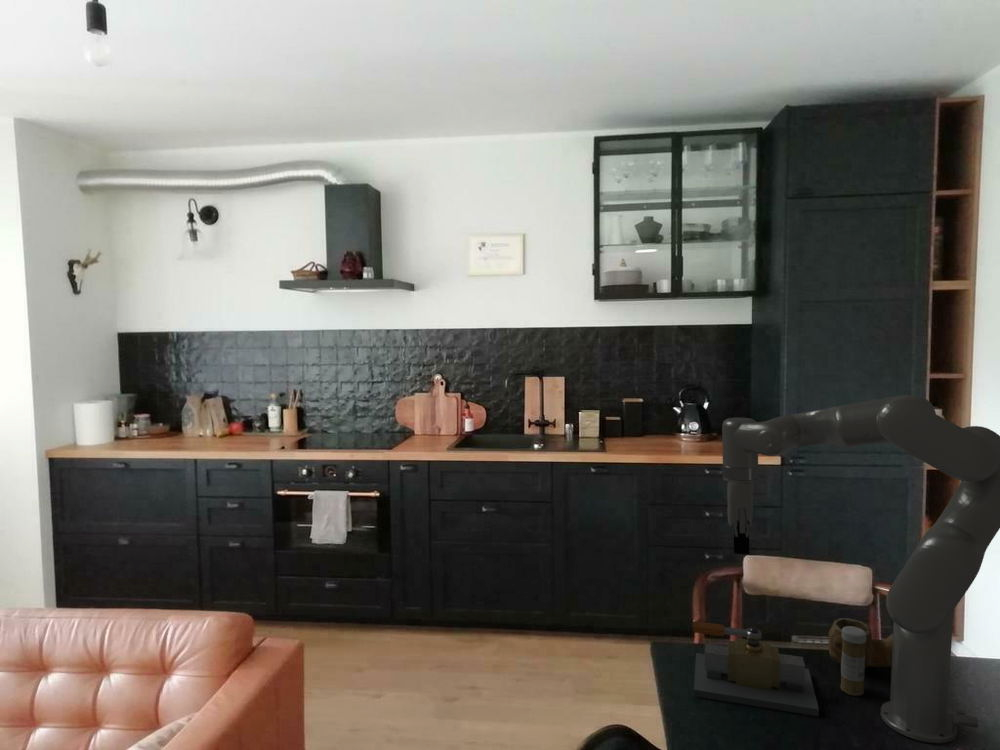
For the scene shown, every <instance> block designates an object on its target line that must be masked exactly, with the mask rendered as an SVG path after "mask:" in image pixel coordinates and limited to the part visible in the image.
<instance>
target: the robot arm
mask: <svg viewBox="0 0 1000 750" xmlns="http://www.w3.org/2000/svg"><path fill="white" fill-rule="evenodd" d="M721 426H722V428H721V430H722V431H721V433H722V435H721V436H722V439H721V440H722V479H723V481H726V482H727V486H726V487H727V492H726V493H727V498H726V500H727V502H726V503H727V505H726V506H727V507H726V508H727V522H728V525H729V526H730V527H732V526H733V527H734V529H733V531H734V534H733V552H734V554H736V555H750V536H749V528H751V527H752V526H753V513H754V511H753V510H754V485H753V484H754V483H757V482H758V481H759V455H761V456H762V455H763V456H766V457H776V456H780V455H782V454H785V453H786V452H788V451H790V450H792V449H796V448H802V447H803V448H805V447H810V446H816V445H817V446H819V445H837V446H840V447H844V448H853V447H861V446H867V445H875V444H883V443H891V444H893V445H895V446H896V447H897V448H898V449H900V450H902V451H904V452H906V453H907V454H909V455H911V456H913V457H914V458H916V459H918V460H920V461H922V462H923V463H925V464H927V465H929V466H930V467H932V468H934V469H936V470H937V471H939V472H942V473H943V474H945V475H947V476H949V477H950V478H953V479H955V480H958V481H959V485H958V486H957V488H956V490H955V491H954V493H953V495H952V496H951V497H950V500H949V501H948V504H947V505H946V506H945V508H944V510H943V511H942V512H941V514H940V515H939V517H938V518H937V520H936V521H935V523H933V524H932V526H931V527H930V528H929V529H928V530H927V531H926V532H925V533H924V534H923V537H921V540H920V541H919V543H918V544H917V545H916V547H915V549H914V551H913V552H912V554H911V555H910V557H909V558H908V560H907V561H906V563H905V564H904V566H903V568H902V569H901V570H900V572H899V573H898V575H897V576H896V577H895V579H894V581H893V583H892V584H891V586H890V588H889V589H888V591H887V593H886V598H885V603H886V604H885V605H886V610H887V612H888V614H889V616H890V618H891V620H892V621H893V630H892V631H893V632H892V634H893V644H892V668H890V669H891V673H890V692H889V693H890V698H889V699H890V700H888V701H886V702H884V703H883V704H882V705H881V707H880V716H881V719H882V721H884V723H885V724H886V725H887V726H888V727H889V728H891V729H892V730H894V731H895V732H896V733H899V734H901V735H903V736H905V737H907V738H910V739H911V740H916V741H920V742H924V743H929V744H943V743H944V744H945V743H946V744H947V743H949V742H952V741H953V740H955V739H956V737H957V734H958V727H959V725H961V726H966V727H969V728H978V726H979V721H978V718H977V716H975V715H968V714H966V710H965V709H964V708H963V709H962V708H953V707H951V706H950V705H949V696H950V694H949V692H950V675H951V673H950V672H951V655H952V644H953V643H952V641H953V629H954V628H953V626H954V617H955V609H956V607H957V606H958V605H959V603H960V601H961V600H962V599H963V597H965V594H966V593H967V592H968V590H969V589H970V587H971V586H972V584H973V582H974V581H975V579H976V578H977V575H978V574H979V572H980V569H981V567H982V564H983V561H984V557H985V555H986V552H987V550H988V547H989V546H990V545H991V542H992V541H993V539H994V538H995V537H996V536H997V534H998V532H999V531H1000V434H998V433H997V432H996V431H994V430H992V429H990V428H988V427H984V426H980V425H979V426H978V425H973V426H971V425H970V426H965V427H961V426H959V425H957V424H955V423H954V422H951V421H949V420H947V419H946V418H944V417H942V416H940V415H938V414H937V413H936V409H935V407H934V406H933V404H932V403H931V402H930V401H929V400H928V399H927V398H925V397H923V396H922V395H917V394H903V395H897V396H890V397H886V398H885V397H884V398H880V399H878V398H877V399H872V400H867V401H862V402H861V401H860V402H855V403H848V404H842V405H836V406H832V407H831V406H830V407H829V408H824V409H817V410H816V409H815V410H810V411H805V412H799V413H793V414H792V413H791V414H787V415H782V416H777V417H774V418H771V419H768V420H764V421H759V422H758V421H756V420H755V419H753V418H749V417H730V418H726V419H724V420H723V422H722V425H721Z"/></svg>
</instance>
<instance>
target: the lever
mask: <svg viewBox="0 0 1000 750" xmlns="http://www.w3.org/2000/svg"><path fill="white" fill-rule="evenodd" d="M692 626H693V627H692V632H693V634H694V633H695V634H701V635H702V634H703V635H711V636H719V637H724V636H725V635H729V636H737V637H744V638H747V640H748V639H751V640H760V641H761V640H762V637H763V636H762V635H763V634H762V631H761V630H760V629H759V628H758V627H756V626H750V627H748V628H737V627H727V626H725V624H721V623H712V622H704V621H697V620H695V621H693V625H692Z"/></svg>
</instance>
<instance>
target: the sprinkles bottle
mask: <svg viewBox="0 0 1000 750" xmlns="http://www.w3.org/2000/svg"><path fill="white" fill-rule="evenodd" d="M842 640H843V641H842V659H841V665H840V676H841V677H840V686H839V688H840V689H841V691H842V692H844V693H845V694H847V695H849V696H854V697H855V696H856V697H860V696H862V695H864V693H865V691H864V683H865V682H864V681H865V672H866V671H865V670H866V668H865V643H866V632H865V631H864V630H862V629H860V628H857V627H853V626H846V627H843V628H842Z"/></svg>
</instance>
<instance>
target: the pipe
mask: <svg viewBox="0 0 1000 750" xmlns="http://www.w3.org/2000/svg"><path fill="white" fill-rule="evenodd" d="M846 626H853V627H857V628H860V629H862V630H864V631H865V632H866V643H865V669H866V668H868V667H869V668H870V667H871V668H890V669H891V668H892V644H893V633H891V634H890V635H889V636H888V637H887V638H885V639H881V638H880V639H878V638H877V639H876V638H873V633H872V630H871V628H870V626H869V624H866V623H865V622H863V621H859V620H857V619H852V618H848V617H847V618H846V617H845V618H844V617H843V618H841V617H840V618H838V619H835V620H834V621H833V623H832V626H831V627H830V629H829V631H828V647H829V648H828V649H829V650H828V651H829V652H828V654H829V656H830V658H831V659H832V661H833V662H835V663H836V664H839V665H840V666H841V659H842V641H843V640H842V628H843V627H846ZM872 638H873V639H872Z"/></svg>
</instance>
